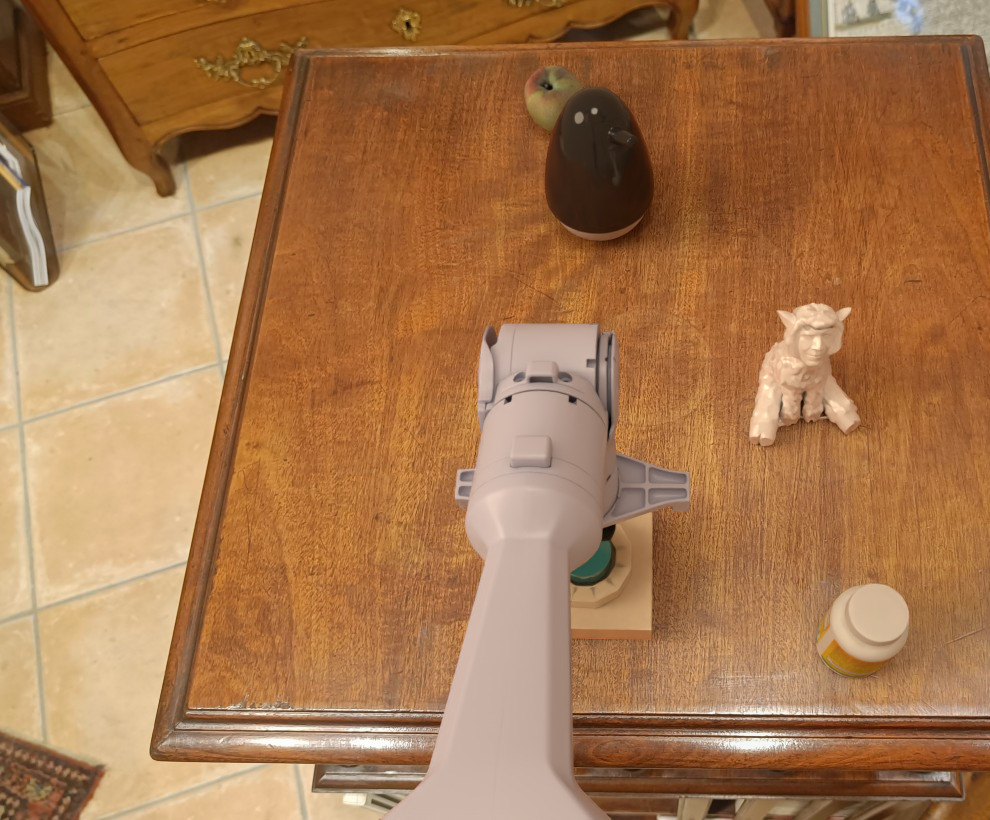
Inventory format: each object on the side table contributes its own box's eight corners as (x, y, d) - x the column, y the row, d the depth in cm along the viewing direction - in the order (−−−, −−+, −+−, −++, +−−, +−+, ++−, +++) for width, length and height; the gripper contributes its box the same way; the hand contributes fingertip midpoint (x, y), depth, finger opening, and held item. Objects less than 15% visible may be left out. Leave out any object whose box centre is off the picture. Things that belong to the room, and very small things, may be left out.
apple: (589, 89, 97) (586, 44, 92) (583, 146, 94) (579, 103, 88) (533, 87, 98) (527, 42, 92) (524, 145, 94) (517, 101, 89)
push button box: (651, 640, 71) (652, 624, 66) (522, 637, 71) (513, 621, 67) (652, 517, 75) (652, 494, 71) (530, 515, 76) (523, 492, 71)
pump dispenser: (594, 277, 86) (584, 165, 73) (528, 211, 90) (507, 92, 77) (677, 220, 89) (682, 101, 75) (609, 158, 93) (602, 35, 79)
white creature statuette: (749, 452, 77) (765, 383, 67) (727, 364, 81) (739, 286, 71) (860, 434, 78) (893, 363, 67) (832, 348, 82) (860, 267, 71)
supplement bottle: (805, 617, 71) (826, 581, 62) (871, 602, 71) (902, 564, 63) (828, 688, 68) (853, 660, 60) (897, 671, 69) (932, 641, 60)
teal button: (611, 584, 68) (610, 577, 66) (557, 583, 68) (555, 576, 67) (612, 532, 70) (612, 524, 68) (560, 532, 70) (558, 524, 68)
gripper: (692, 395, 54) (684, 481, 66) (448, 393, 55) (484, 479, 67) (694, 508, 51) (685, 576, 63) (435, 505, 52) (476, 573, 64)
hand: (581, 532), depth 65 cm, fingers closed
